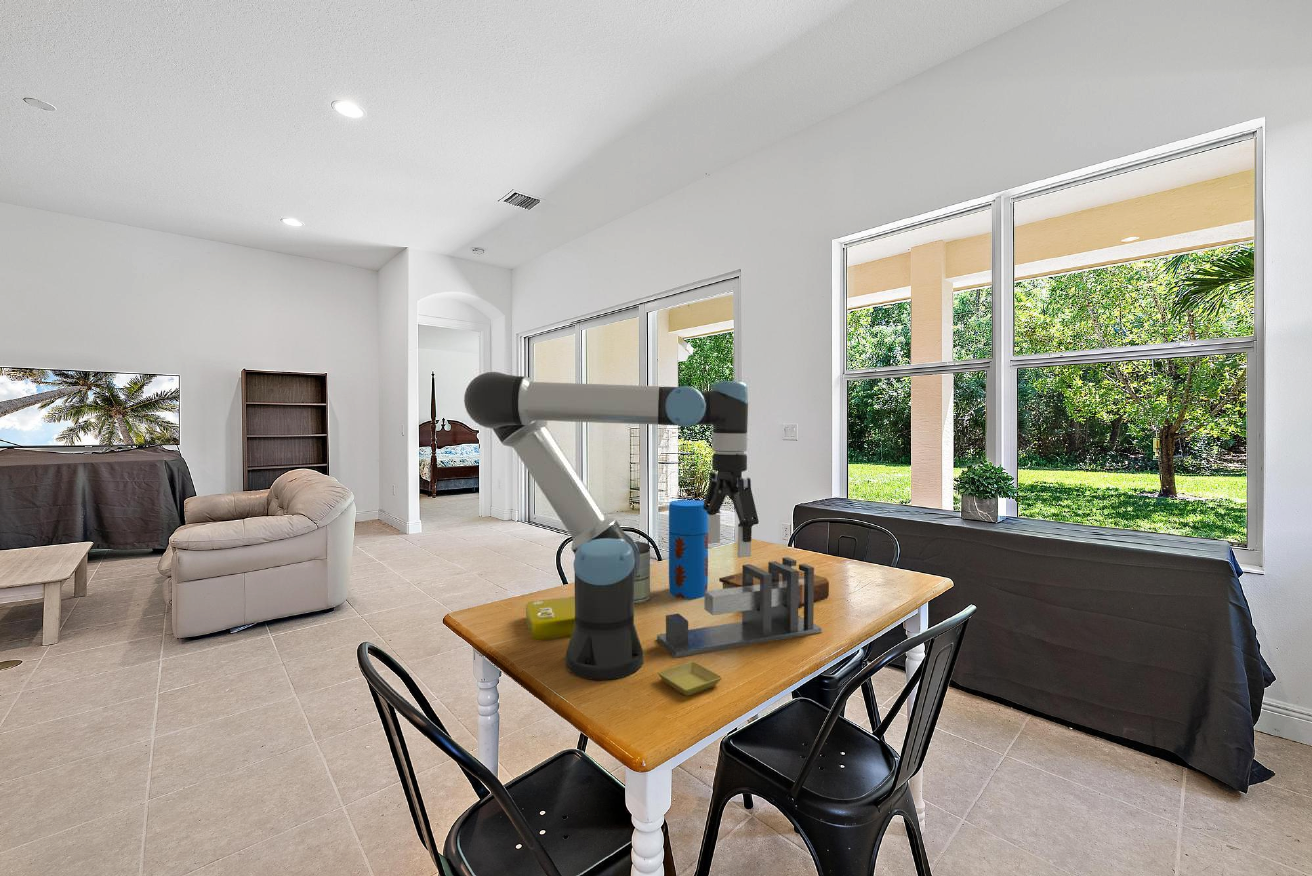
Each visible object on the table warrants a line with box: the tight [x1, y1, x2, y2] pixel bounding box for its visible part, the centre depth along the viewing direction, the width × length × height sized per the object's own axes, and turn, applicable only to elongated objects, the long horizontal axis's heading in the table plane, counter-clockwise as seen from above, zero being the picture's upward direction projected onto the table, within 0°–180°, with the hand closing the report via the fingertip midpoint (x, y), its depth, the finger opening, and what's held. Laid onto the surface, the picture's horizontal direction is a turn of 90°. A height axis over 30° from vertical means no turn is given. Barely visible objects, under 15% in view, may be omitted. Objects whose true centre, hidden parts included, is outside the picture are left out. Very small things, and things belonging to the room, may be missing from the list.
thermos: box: [668, 499, 709, 600], centre depth 153 cm, size 11×11×25 cm
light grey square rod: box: [703, 579, 804, 616], centre depth 125 cm, size 26×4×4 cm, turn 112°
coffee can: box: [634, 541, 651, 604], centre depth 149 cm, size 10×10×14 cm
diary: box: [718, 565, 830, 608], centre depth 150 cm, size 23×19×6 cm
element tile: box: [525, 596, 575, 641], centre depth 130 cm, size 15×15×5 cm
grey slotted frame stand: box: [656, 556, 823, 658], centre depth 123 cm, size 36×10×15 cm, turn 112°
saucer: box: [657, 660, 723, 697], centre depth 101 cm, size 9×9×2 cm
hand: (728, 549), depth 121 cm, fingers open, 13 cm apart
